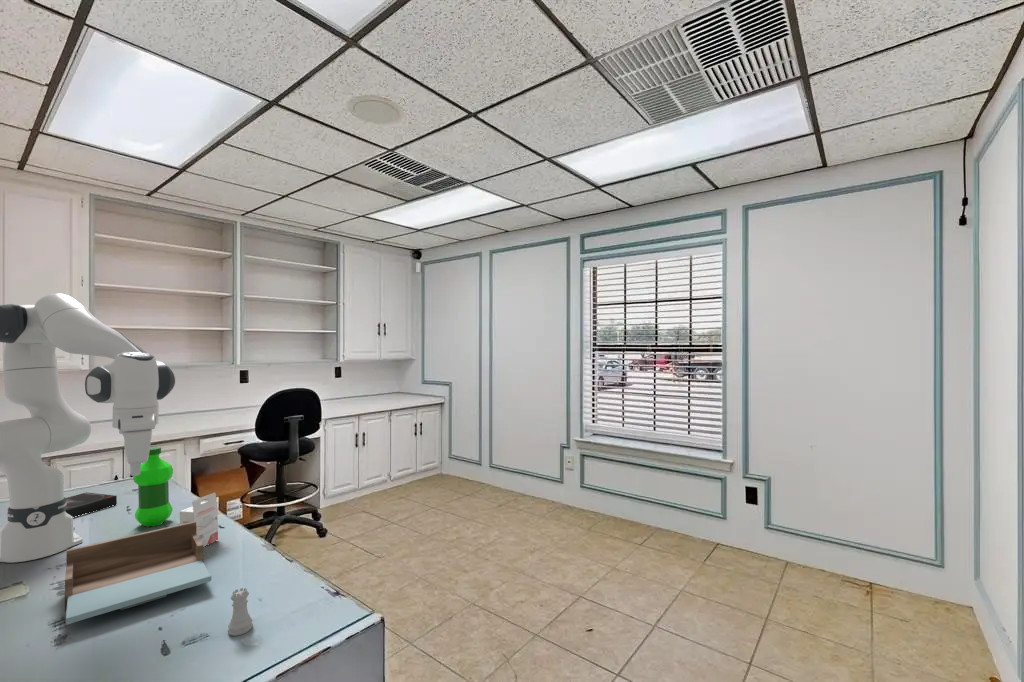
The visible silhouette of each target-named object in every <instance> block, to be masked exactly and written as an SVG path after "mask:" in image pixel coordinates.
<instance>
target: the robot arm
mask: <svg viewBox="0 0 1024 682" xmlns="http://www.w3.org/2000/svg"><path fill="white" fill-rule="evenodd" d="M0 343H4V350H3V359H2V360H3V362H2V364H3V365H2V367H3V368H2V369H3V371H2V372H3V383H4V392H5V393H4V395H5V397H6V398H7V400H8V401H10V402H11V403H13V404H16V405H20V406H23V407H25V408H26V409H27V410H28V412H29V413H30V416H31V417H26V418H18V419H17V418H16V419H10V420H9V419H8V420H4V421H1V422H0V471H2V473H3V475H4V476H5V478H6V481H7V484H8V495H9V506H8V508H7V512H6V516H7V521H8V522H7V524H6V525H5V526H4V527H2V529H1V530H0V563H11V564H12V563H20V562H21V563H22V562H27V561H33V560H38V559H42V558H46V557H49V556H53V555H54V554H55V555H56V554H58V553H60V552H63V551H66V550H68V549H69V548H71V547H73V546H76V545H79V544H81V543H83V542H84V541H83V538H82V537H81V536H80V534H78V533H76V532H75V526H74V518H73V517H72V516H71V515H69V514H67V513H66V511H65V510H66V505H67V502H66V498H67V497H65V484H64V483H65V481H64V480H65V479H64V476H65V475H64V473H63V471H61V470H60V469H59V468H57V467H54V466H50V465H45V464H44V462H43V460H42V455H44V454H49V453H53V452H59V451H64V450H68V449H71V448H74V447H76V446H79V445H82V444H84V443H85V442H86V441H87V440H88V439H89V437H90V435H91V431H92V426H91V423H90V420H88V418H87V417H86V416H84V415H83V414H81V413H79V412H77V411H75V409H73V408H72V407H71V406H70V404H68V402H66V400H65V398H64V396H63V394H62V391H61V386H60V379H59V370H58V368H59V367H58V361H57V355H56V348H57V349H59V350H61V351H62V352H65V353H69V354H73V355H80V356H81V355H84V356H92V357H93V356H95V357H101V358H102V357H104V358H109V359H112V361H111V362H108V363H105V364H103V365H99V366H95V367H94V368H93V369H92V370H91V371H89V373H88V374H87V375H86V376H85V382H84V389H85V393H86V396H87V397H89V399H91V400H92V401H94V402H96V403H99V404H112V405H113V406H112V428H114V429H117V430H119V431H118V432H119V434H120V435H122V436H123V440H124V441H123V442H124V445H123V446H124V450H125V451H124V452H125V455H126V459H127V463H128V465H129V467H130V468H129V471H130V476H132V477H133V476H137V475H140V468H141V464H142V463H144V462H147V460H148V457H149V451H150V448H151V443H152V442H151V441H152V435H153V430H155V429H156V426H157V425H158V424H159V401H161V400H163V399H164V398H165V397H166V396H168V395H169V394H170V393H171V392H172V391H173V389H174V387H175V385H176V376H175V374H174V372H173V370H172V369H171V368H170V367H169V366H168V365H167V364H165V363H164V362H162V361H160V360H157V359H156V357H155V356H154V355H153V354H151V353H148V352H146V351H145V350H144V349H143V348H142V347H141V346H140V345H138V344H137V343H136V342H135V341H133V340H132V339H131V338H130V337H129V336H127V335H125V334H123V333H122V332H119V331H118V330H115V329H113V328H111V327H110V326H108V325H107V324H105V323H104V322H102V321H100V320H99V319H98V318H97V317H95V316H94V315H93V314H92V313H91V311H90V310H89V309H88V308H87V307H86V306H85V305H84V304H82V303H81V302H80V301H78V300H77V299H76V298H74V297H72V296H71V295H68V294H65V293H51V294H47V295H44V296H42V297H41V298H39V299H38V300H37V301H36V302H35V304H13V303H9V304H0ZM158 400H159V401H158Z"/></svg>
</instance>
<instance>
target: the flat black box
mask: <svg viewBox="0 0 1024 682" xmlns="http://www.w3.org/2000/svg"><path fill="white" fill-rule="evenodd" d="M117 497H118V496H117V495H114V494H104V493H95V492H83V493H79V494H76V495H75V494H74V495H72V496H68V497H65V498H66V502H67V505H66V510H65V511H66V513H67V514H69V515H71V516H72V517H75V516H78V515H82V514H85V513H89V512H93V511H96V510H99V511H101V510H100V509H103V508H106V507H109V506H112V505H116V504H118V501H117V499H118V498H117ZM116 506H117V505H116ZM112 507H113V506H112ZM109 508H110V507H109ZM106 509H107V508H106ZM103 510H104V509H103ZM96 512H97V511H96ZM93 513H94V512H93ZM89 514H90V513H89Z"/></svg>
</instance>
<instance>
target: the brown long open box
mask: <svg viewBox="0 0 1024 682" xmlns="http://www.w3.org/2000/svg"><path fill="white" fill-rule="evenodd" d="M65 551H66V555H65V557H66V559H65V560H66V562H65V563H66V565H65V572H64V573H65V575H64V613H66V611H67V601H68V596H72V595H76V594H79V593H83V592H87V591H90V590H94V589H98V588H101V587H105V586H109V585H112V584H116V583H120V582H123V581H127V580H131V579H135V578H138V577H142V576H146V575H149V574H153V573H157V572H160V571H164V570H168V569H171V568H175V567H179V566H182V565H186V564H190V563H193V562H197V561H201V560H202V561H203V563H204V564H205V561H204V560H205V559H204V552H205V551H204V548H203V544H202V542H201V540H200V538H199V537H198V535H197V533H196V521H193V522H189V523H184V524H180V523H179V524H176V525H172V526H168V527H167V526H166V527H163V528H159V529H154V530H149V531H146V532H140V533H136V534H131V535H127V536H122V537H118V538H114V539H109V540H105V541H101V542H100V541H99V542H96V543H92V544H86V545H83V546H78V547H72V548H70V549H69V548H67V549H65Z"/></svg>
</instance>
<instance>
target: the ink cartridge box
mask: <svg viewBox="0 0 1024 682" xmlns="http://www.w3.org/2000/svg"><path fill="white" fill-rule="evenodd" d="M204 500H205V501H204ZM206 500H207V501H206ZM191 503H192V506H189V507H187V508H185V509H182V510H179V525H180V524H184V523H189V522H193V521H196V533H197V535H198V537H199V538H200V540H201V542H202V544H203V547H204V546H206V545H208V544H210V543H212V542H214V541H216V540H219V530H218V529H219V527H218V526H219V525H218V524H219V523H218V521H219V519H218V502H217V494H216V492H213V493H209V494H207V495H205V496H202V497H200V498H197V499H195V500H192V502H191ZM216 542H217V541H216ZM214 543H215V542H214ZM212 544H213V543H212ZM210 545H211V544H210ZM208 546H209V545H208ZM206 547H207V546H206ZM204 548H205V547H204Z"/></svg>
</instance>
